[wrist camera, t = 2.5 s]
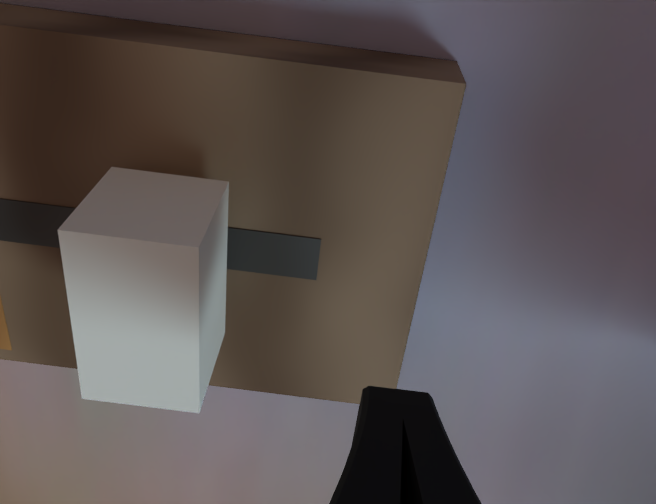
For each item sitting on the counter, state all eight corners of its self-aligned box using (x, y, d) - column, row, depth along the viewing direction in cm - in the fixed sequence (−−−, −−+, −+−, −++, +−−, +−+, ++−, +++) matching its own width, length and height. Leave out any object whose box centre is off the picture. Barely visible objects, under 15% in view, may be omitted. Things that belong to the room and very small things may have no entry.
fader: (232, 175, 16) (198, 247, 13) (227, 324, 19) (199, 413, 16) (117, 160, 16) (57, 229, 13) (129, 311, 19) (81, 398, 16)
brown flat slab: (457, 61, 17) (466, 84, 15) (390, 366, 22) (391, 408, 21) (-292, -34, 17) (-370, -22, 15) (-162, 297, 22) (-207, 333, 21)
